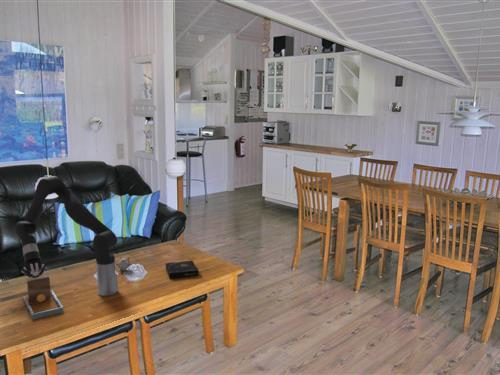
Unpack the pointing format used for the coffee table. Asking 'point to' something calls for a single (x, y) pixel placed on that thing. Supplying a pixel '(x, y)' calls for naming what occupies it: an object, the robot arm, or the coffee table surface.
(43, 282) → the board
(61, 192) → the robot arm
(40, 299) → the ball
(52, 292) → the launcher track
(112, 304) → the coffee table surface
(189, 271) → the portable cd player
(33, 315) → the blue-grey rectangular frame
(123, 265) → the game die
